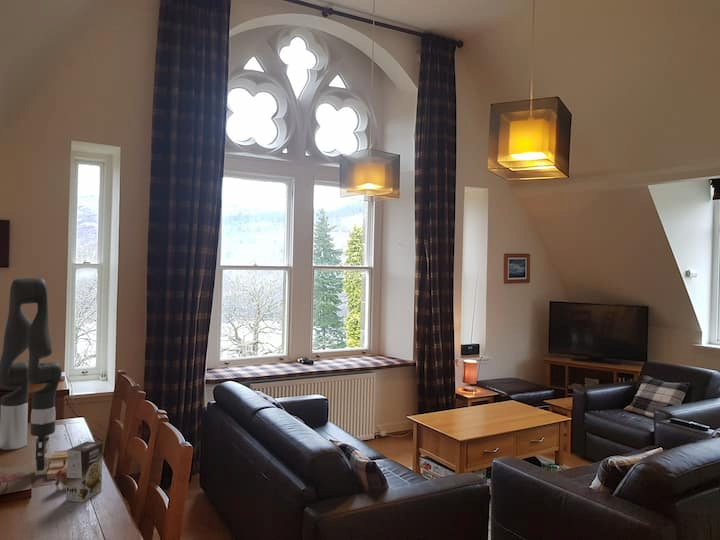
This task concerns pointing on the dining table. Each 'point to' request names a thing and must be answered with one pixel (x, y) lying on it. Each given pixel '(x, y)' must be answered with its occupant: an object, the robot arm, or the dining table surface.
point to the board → (56, 464)
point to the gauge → (49, 459)
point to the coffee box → (84, 471)
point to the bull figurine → (61, 477)
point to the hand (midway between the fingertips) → (41, 466)
